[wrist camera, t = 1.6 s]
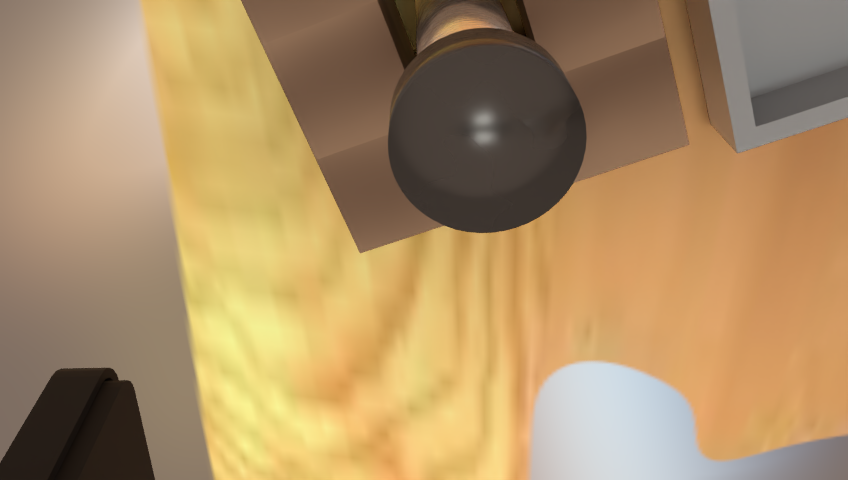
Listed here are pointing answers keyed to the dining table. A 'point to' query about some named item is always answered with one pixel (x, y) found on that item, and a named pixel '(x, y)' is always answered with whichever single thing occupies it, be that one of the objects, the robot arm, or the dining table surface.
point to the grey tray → (771, 66)
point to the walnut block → (391, 53)
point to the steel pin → (482, 121)
